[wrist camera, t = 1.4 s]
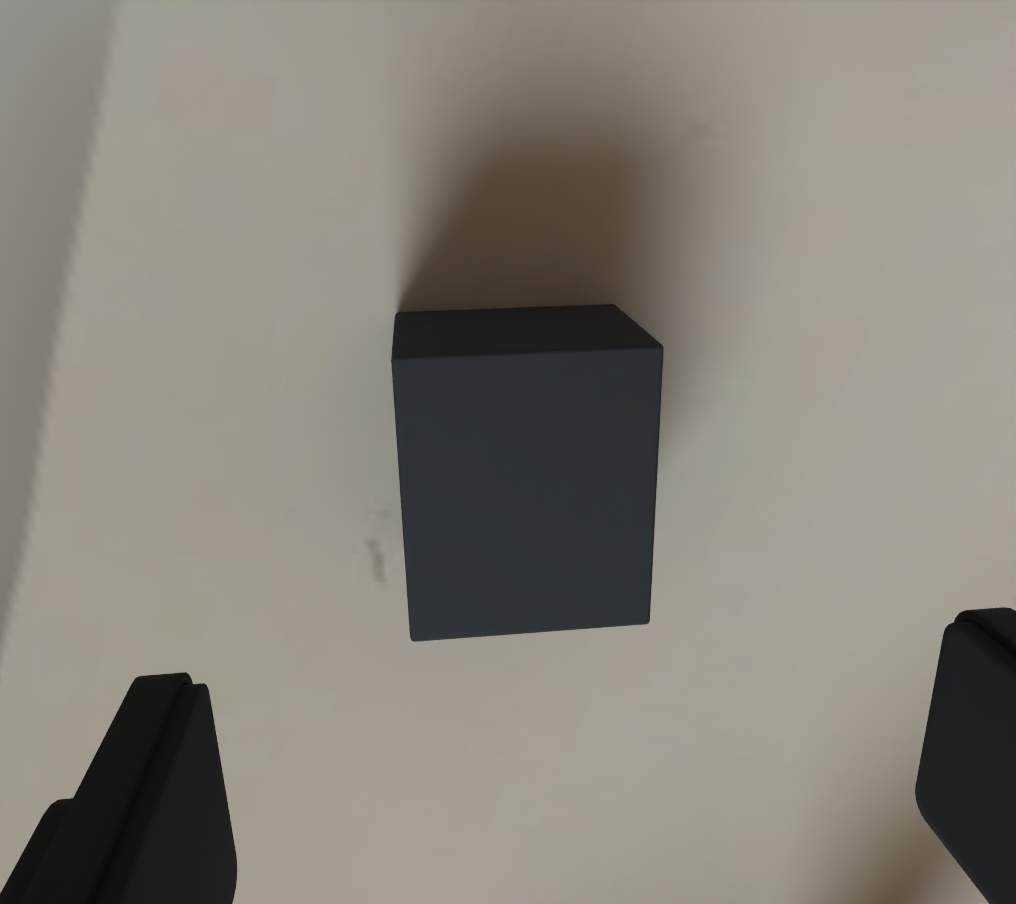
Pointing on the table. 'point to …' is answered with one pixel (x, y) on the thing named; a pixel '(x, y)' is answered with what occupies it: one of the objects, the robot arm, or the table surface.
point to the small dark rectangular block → (526, 468)
